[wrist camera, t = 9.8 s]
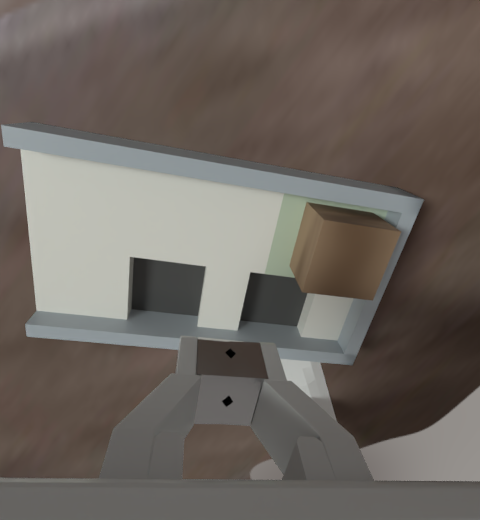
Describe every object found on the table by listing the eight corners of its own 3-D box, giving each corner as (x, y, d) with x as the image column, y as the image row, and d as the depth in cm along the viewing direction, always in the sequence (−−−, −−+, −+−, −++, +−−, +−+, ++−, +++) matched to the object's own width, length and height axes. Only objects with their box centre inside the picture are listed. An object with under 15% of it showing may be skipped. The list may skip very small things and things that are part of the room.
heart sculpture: (342, 441, 33) (466, 760, 17) (295, 454, 34) (373, 779, 17) (310, 328, 26) (465, 680, 10) (252, 346, 27) (314, 714, 11)
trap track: (397, 187, 22) (424, 199, 19) (338, 339, 27) (352, 365, 24) (32, 122, 18) (1, 124, 16) (47, 310, 24) (26, 336, 21)
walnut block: (372, 212, 21) (401, 231, 18) (350, 273, 23) (372, 300, 19) (306, 202, 20) (324, 220, 17) (289, 265, 22) (302, 292, 19)
